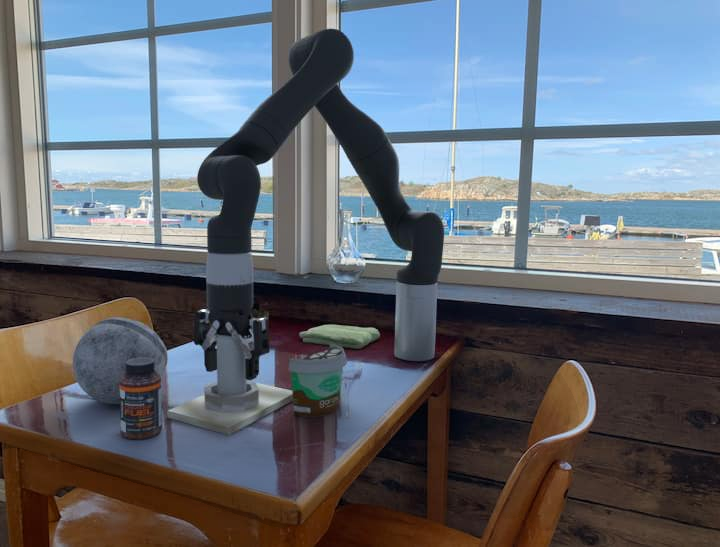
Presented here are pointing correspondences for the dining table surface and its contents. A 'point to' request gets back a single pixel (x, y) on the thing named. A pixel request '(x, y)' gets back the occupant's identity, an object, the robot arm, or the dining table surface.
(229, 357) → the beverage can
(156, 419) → the supplement bottle
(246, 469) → the dining table surface
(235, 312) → the robot arm
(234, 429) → the holder board
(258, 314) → the cup
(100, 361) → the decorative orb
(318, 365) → the food container
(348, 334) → the washcloth
